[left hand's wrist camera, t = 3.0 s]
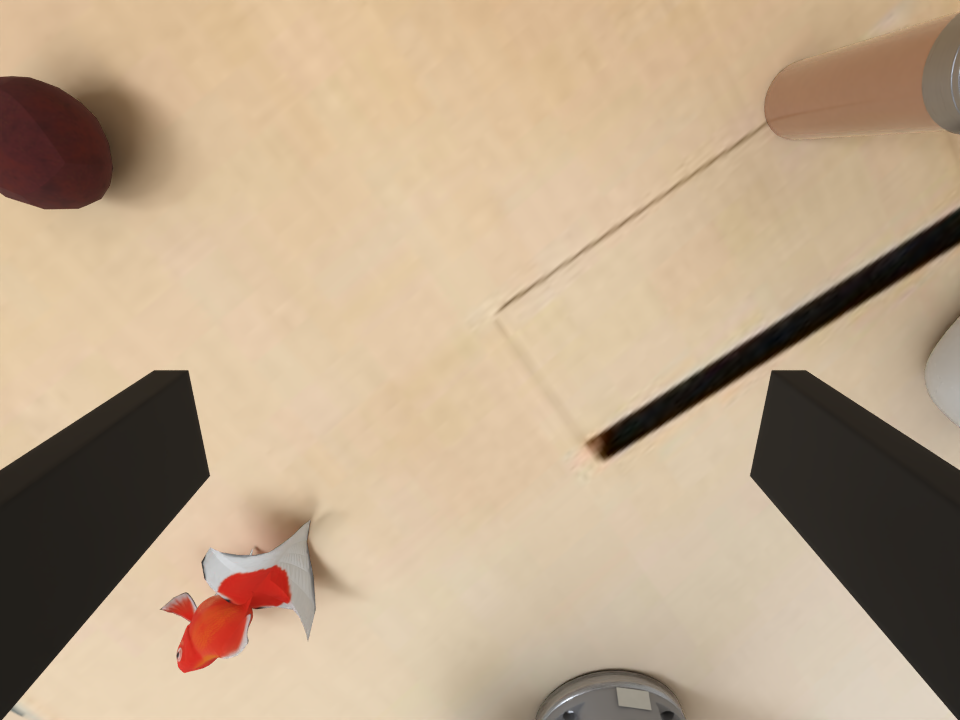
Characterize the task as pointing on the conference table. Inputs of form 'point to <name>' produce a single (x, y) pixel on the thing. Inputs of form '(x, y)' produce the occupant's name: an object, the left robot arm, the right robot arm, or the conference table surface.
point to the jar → (857, 88)
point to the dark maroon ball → (50, 147)
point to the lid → (944, 78)
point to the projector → (946, 373)
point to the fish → (243, 599)
